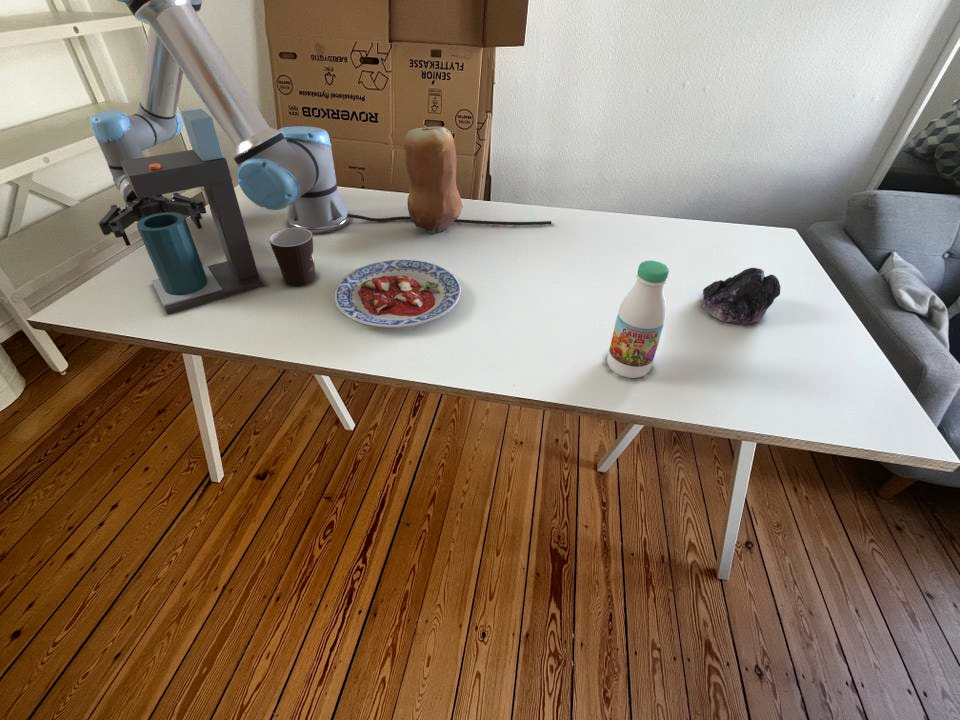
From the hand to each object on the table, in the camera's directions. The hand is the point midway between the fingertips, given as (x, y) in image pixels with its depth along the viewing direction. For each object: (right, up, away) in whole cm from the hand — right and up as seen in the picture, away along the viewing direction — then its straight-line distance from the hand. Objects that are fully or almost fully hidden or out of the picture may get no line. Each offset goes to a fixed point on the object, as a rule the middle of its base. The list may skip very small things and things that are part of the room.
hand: (163, 231), depth 106 cm
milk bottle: (+92, -27, -13) cm, 96 cm away
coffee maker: (+7, -11, +4) cm, 13 cm away
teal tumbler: (+4, -11, +1) cm, 12 cm away
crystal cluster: (+118, -16, +2) cm, 119 cm away
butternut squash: (+53, +7, +27) cm, 60 cm away
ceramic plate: (+48, -14, +2) cm, 50 cm away
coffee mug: (+26, -8, +8) cm, 28 cm away
